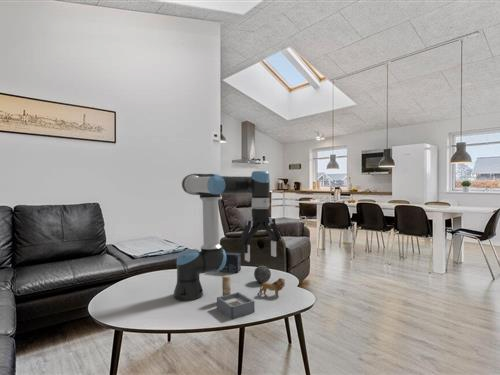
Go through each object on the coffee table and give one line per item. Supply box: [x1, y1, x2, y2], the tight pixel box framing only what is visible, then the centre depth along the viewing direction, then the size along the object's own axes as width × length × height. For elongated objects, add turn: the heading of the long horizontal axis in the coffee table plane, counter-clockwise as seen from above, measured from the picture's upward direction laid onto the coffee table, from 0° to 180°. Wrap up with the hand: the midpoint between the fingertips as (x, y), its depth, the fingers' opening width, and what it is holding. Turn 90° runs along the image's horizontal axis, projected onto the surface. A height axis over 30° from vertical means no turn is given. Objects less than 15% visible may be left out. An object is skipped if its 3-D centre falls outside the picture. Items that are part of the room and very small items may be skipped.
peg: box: [221, 275, 232, 296], centre depth 148 cm, size 4×4×12 cm
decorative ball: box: [253, 265, 272, 284], centre depth 176 cm, size 10×10×10 cm
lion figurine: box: [256, 277, 286, 298], centre depth 155 cm, size 15×5×9 cm, turn 92°
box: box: [216, 291, 256, 320], centre depth 137 cm, size 14×12×5 cm
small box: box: [219, 252, 242, 274], centre depth 200 cm, size 13×7×12 cm, turn 74°
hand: (260, 258), depth 123 cm, fingers open, 13 cm apart
